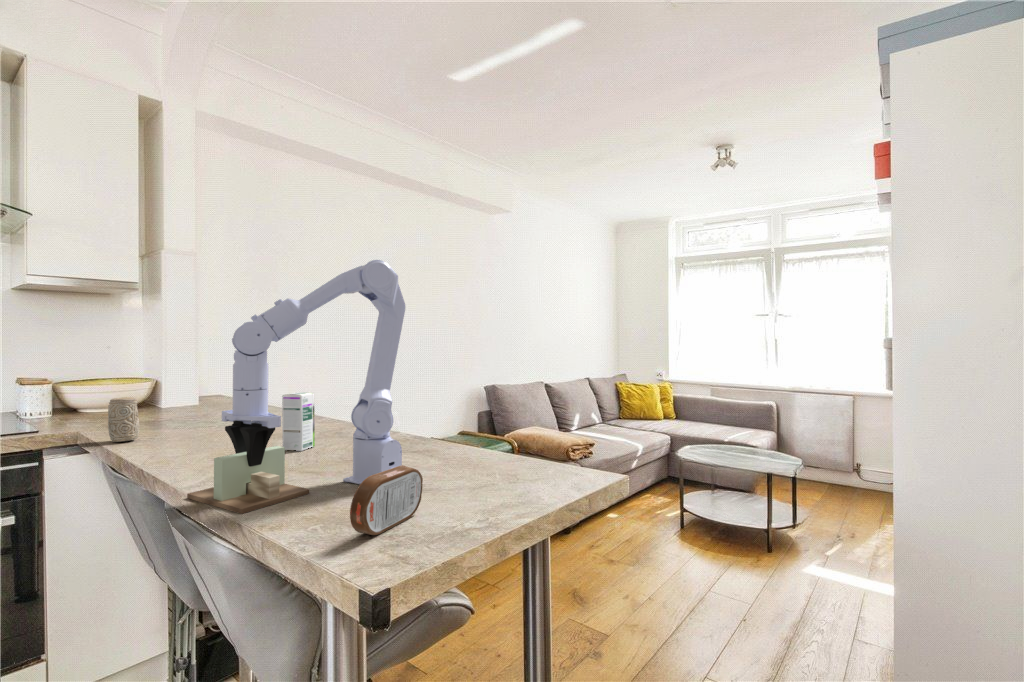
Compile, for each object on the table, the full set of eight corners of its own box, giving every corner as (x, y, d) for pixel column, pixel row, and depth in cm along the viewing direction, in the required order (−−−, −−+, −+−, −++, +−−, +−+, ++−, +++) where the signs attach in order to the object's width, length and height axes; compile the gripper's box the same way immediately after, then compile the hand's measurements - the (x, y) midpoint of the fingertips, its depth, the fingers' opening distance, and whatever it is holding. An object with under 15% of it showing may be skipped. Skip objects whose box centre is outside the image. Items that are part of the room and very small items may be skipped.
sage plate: (276, 482, 97) (276, 445, 97) (284, 483, 96) (284, 447, 96) (213, 498, 87) (214, 458, 87) (221, 501, 86) (222, 459, 86)
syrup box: (301, 451, 128) (302, 394, 128) (281, 450, 129) (281, 393, 129) (315, 447, 134) (315, 392, 134) (295, 446, 135) (295, 391, 135)
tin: (410, 509, 85) (410, 459, 85) (426, 512, 83) (426, 461, 83) (347, 541, 71) (348, 481, 71) (365, 545, 70) (366, 484, 70)
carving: (120, 439, 142) (121, 396, 142) (145, 439, 141) (146, 397, 141) (100, 443, 136) (101, 399, 136) (126, 444, 135) (127, 399, 135)
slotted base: (309, 493, 93) (309, 469, 93) (241, 513, 82) (242, 486, 82) (255, 481, 101) (255, 459, 101) (187, 498, 89) (187, 473, 89)
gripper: (205, 388, 91) (204, 463, 91) (254, 393, 84) (253, 474, 84) (242, 385, 97) (241, 456, 97) (291, 389, 90) (290, 465, 90)
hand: (249, 464), depth 91 cm, fingers closed on sage plate, 2 cm apart
